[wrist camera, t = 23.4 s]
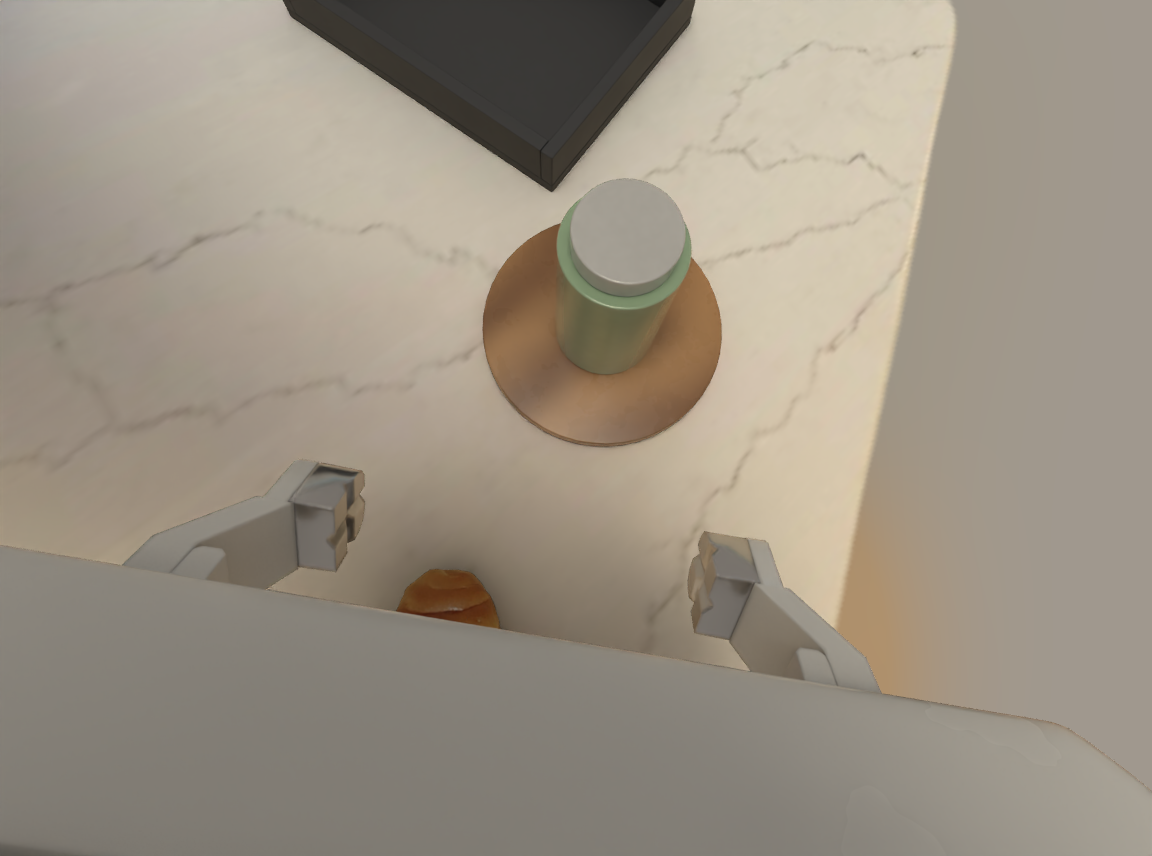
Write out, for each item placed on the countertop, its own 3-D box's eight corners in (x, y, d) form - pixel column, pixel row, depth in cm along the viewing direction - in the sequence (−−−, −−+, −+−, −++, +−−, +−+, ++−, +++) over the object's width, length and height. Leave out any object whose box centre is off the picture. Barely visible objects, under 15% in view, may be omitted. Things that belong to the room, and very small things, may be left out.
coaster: (435, 354, 33) (433, 350, 32) (574, 183, 36) (575, 174, 35) (632, 495, 32) (634, 493, 31) (761, 308, 34) (766, 302, 34)
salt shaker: (539, 302, 33) (534, 195, 23) (628, 265, 34) (661, 146, 24) (580, 390, 32) (593, 319, 22) (671, 351, 33) (723, 264, 23)
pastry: (386, 566, 31) (364, 568, 27) (519, 570, 31) (516, 573, 27) (367, 768, 29) (341, 801, 25) (510, 771, 29) (505, 803, 26)
